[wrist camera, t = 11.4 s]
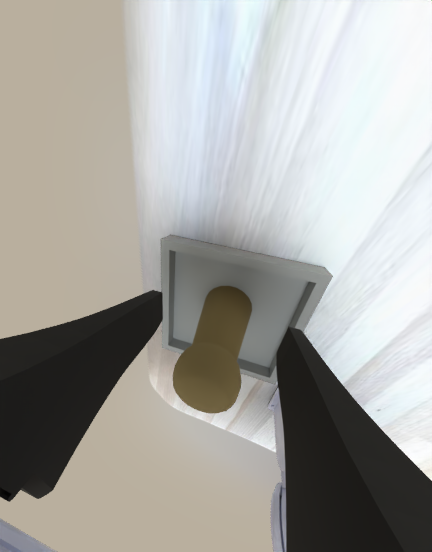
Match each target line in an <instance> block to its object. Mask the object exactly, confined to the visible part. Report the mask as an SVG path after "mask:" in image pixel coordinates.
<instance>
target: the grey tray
mask: <svg viewBox="0 0 432 552" xmlns="http://www.w3.org/2000/svg"><path fill="white" fill-rule="evenodd" d="M332 277H333V276H332V275H331V274H330V273H329V272H328V270H327V269H326V268H325V267H320V266H315V265H310V264H306V263H301V262H296V261H292V260H287V259H282V258H277V257H273V256H268V255H263V254H258V253H254V252H249V251H244V250H239V249H235V248H230V247H225V246H220V245H216V244H211V243H206V242H202V241H197V240H192V239H187V238H183V237H178V236H173V235H169V236H167V237H164V238H162V239H161V292H162V293H163V320H162V348H164V349H167V350H170V351H173V352H176V353H179V354H182V353H183V352H184V351H185V350H186V349H187V348H188V347H190V346H192V343H193V340H194V336H195V333H196V329H197V326H198V322H199V319H200V316H201V312H202V309H203V305H204V302H205V299H206V296H207V295H208V293H209V292H210V291H211V290H212V289H214V288H216V287H219V286H232V287H236V288H238V289H240V290H241V291H243V292H244V293H245V294H246V295H247V296H248V297H249V299H250V301H251V303H252V312H251V316H250V319H249V322H248V326H247V329H246V332H245V336H244V339H243V342H242V346H241V349H240V352H239V356H238V359H237V363H238V365H239V368H240V373H241V374H244V375H247V376H250V377H253V378H256V379H259V380H263V381H266V382H269V383H272V384H276V382H277V371H276V352H277V350H278V348H279V346H280V344H281V342H282V339H283V337H284V335H285V333H286V331H287V329H288V327H293V328H296V329H300V330H301V331H302V332H303V331H304V329H305V328H306V326H307V324H308V322H309V320H310V318H311V316H312V314H313V313H314V311H315V309H316V307H317V305H318V303H319V301H320V299H321V298H322V296H323V294H324V292H325V290H326V288H327V286H328V284H329V282H330V281H331V279H332Z"/></svg>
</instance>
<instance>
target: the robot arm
mask: <svg viewBox="0 0 432 552" xmlns="http://www.w3.org/2000/svg"><path fill="white" fill-rule="evenodd" d="M162 320H163V293H162V292H158V291H154V290H152V291H149V292H147V293H144V294H142V295H140V296H137V297H135V298H133V299H130V300H128V301H125V302H123V303H121V304H118V305H116V306H113V307H111V308H108V309H106V310H103V311H100V312H97V313H95V314H92V315H89V316H86V317H84V318H80V319H78V320H74V321H71V322H67V323H64V324H61V325H57V326H53V327H50V328H45V329H42V330H38V331H34V332H30V333H26V334H22V335H17V336H12V337H8V338H4V339H0V497H2V498H3V499H5V500H7V501H11V500H12V499H13V498H14V497H15V496H16V494H17V493H18V492H19V491H20V490H22V491H24V492H26V493H28V494H29V495H31V496H33V497H35V498H37V499H39V498H41V497H43V496H45V495H47V494H48V493H49V492H51V491H52V490H53V489H54V487H55V485H56V483H57V482H58V480H59V478H60V476H61V474H62V473H63V471H64V469H65V467H66V466H67V464H68V462H69V460H70V458H71V456H72V455H73V453H74V451H75V449H76V448H77V446H78V444H79V443H80V441H81V439H82V438H83V436H84V434H85V433H86V431H87V429H88V428H89V426H90V424H91V423H92V421H93V419H94V417H95V416H96V414H97V413H98V411H99V410H100V408H101V407H102V405H103V403H104V402H105V400H106V399H107V396H108V395H109V394H110V392H111V391H112V389H113V388H114V386H115V385H116V383H117V382H118V380H119V379H120V377H121V376H122V374H123V373H124V372H125V370H126V369H127V368H128V366H129V365H130V364H131V363H132V361H133V360H134V359H135V358H136V356H137V355H138V354H139V353H140V351H141V350H142V349H143V348H144V346H145V345H146V344H147V342H148V341H149V340H150V339H151V337H152V336H153V335H154V333H155V332H156V330H157V328H158V327H159V325H160V323H161V322H162ZM276 371H277V381H278V388H277V390H276V392H275V394H274V395H273V397H272V399H271V401H270V403H269V404H268V409H269V410H272V411H274V422H275V438H276V454H277V461H278V464H279V467H280V470H281V477H282V483H280V482H279V483H278V484H277V485H276V487H275V490H274V492H273V494H272V500H271V533H272V544H273V552H432V481H431V480H430V479H429V478H428V477H427V476H426V475H425V474H424V473H423V472H422V471H421V470H420V469H419V468H418V467H417V466H416V465H415V464H414V463H413V462H412V461H411V460H410V459H409V458H408V457H407V456H406V455H405V454H404V453H403V452H402V451H401V450H400V449H399V448H398V447H397V445H396V444H395V443H394V442H393V441H392V440H391V439H390V438H389V437H388V436H387V435H386V434H385V433H384V432H383V431H382V430H381V429H380V427H379V426H378V425H377V424H376V423H375V422H374V421H373V420H372V419H371V417H370V416H369V415H368V414H367V413H366V412H365V411H364V410H363V409H362V408H361V406H360V405H359V404H358V403H357V402H356V401H355V399H354V398H353V397H352V396H351V395H350V393H349V392H348V391H347V390H346V389H345V387H344V386H343V385H342V384H341V383H340V381H339V380H338V379H337V377H336V376H335V375H334V374H333V372H332V371H331V370H330V369H329V367H328V366H327V365H326V363H325V362H324V361H323V359H322V358H321V357H320V355H319V354H318V352H317V351H316V350H315V348H314V347H313V346H312V344H311V343H310V341H309V340H308V339H307V337H306V336H305V335H304V333H303V332H302V331H301V330H300V329H296V328H293V327H288V329H287V331H286V333H285V335H284V337H283V339H282V342H281V344H280V346H279V348H278V350H277V352H276ZM0 552H57V551H55V550H53V549H51V548H50V547H48V546H46V545H45V544H43V543H41V542H39V541H38V540H36V539H34V538H32V537H31V536H29V535H27V534H26V533H24V532H22V531H21V530H19V529H17V528H15V527H14V526H12V525H10V524H9V523H7V522H5V521H3V520H2V519H0Z"/></svg>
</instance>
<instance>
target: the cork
mask: <svg viewBox="0 0 432 552" xmlns="http://www.w3.org/2000/svg"><path fill="white" fill-rule="evenodd" d="M251 312H252V303H251V301H250V299H249V297H248V296H247V295H246V294H245V293H244V292H243V291H241V290H240V289H238V288H236V287H232V286H219V287H216V288H214V289H212V290H211V291H210V292H209V293H208V295H207V296H206V299H205V302H204V305H203V309H202V312H201V316H200V319H199V322H198V326H197V329H196V333H195V336H194V340H193V343H192V346H190V347H188V348H187V349H186V350H185V351H184V352H183V353H182V354H181V356H180V357H179V359H178V361H177V363H176V365H175V368H174V372H173V386H174V389H175V391H176V393H177V394H178V396H179V397H180V398H181V399H182V401H184V402H185V403H186V404H187V405H189V406H190V407H192V408H194V409H196V410H199V411H202V412H206V413H220V412H223V411H227V410H228V409H229V408H230V407H231V406H232V405H233V404H234V403H235V402H236V399H237V397H238V394H239V391H240V388H241V375H240V368H239V365H238V363H237V359H238V356H239V352H240V349H241V346H242V342H243V339H244V336H245V332H246V329H247V326H248V322H249V319H250V316H251Z"/></svg>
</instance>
